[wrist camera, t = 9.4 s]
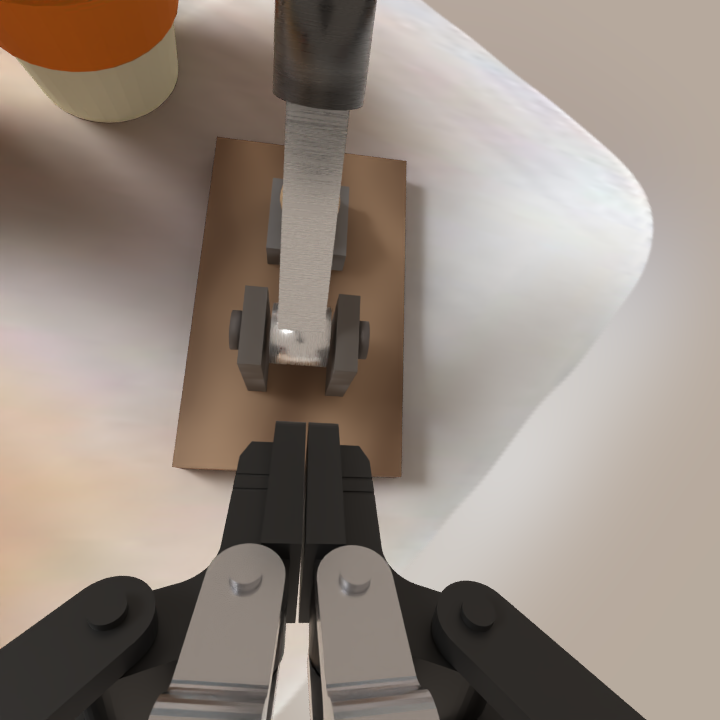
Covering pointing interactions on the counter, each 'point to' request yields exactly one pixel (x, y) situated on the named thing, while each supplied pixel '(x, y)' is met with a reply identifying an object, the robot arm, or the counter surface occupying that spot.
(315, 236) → the lever
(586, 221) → the counter surface
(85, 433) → the counter surface
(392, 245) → the nutcracker bench
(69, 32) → the reusable coffee cup
